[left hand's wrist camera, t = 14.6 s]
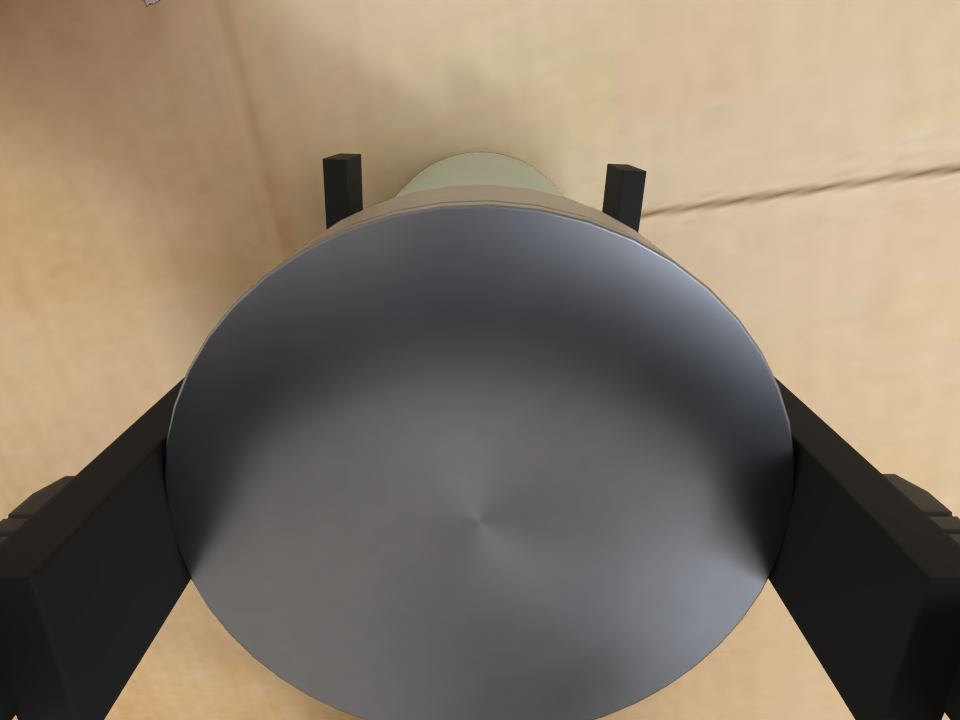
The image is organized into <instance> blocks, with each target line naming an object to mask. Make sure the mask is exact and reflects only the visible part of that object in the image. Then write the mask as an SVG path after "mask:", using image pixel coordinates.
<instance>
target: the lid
mask: <svg viewBox="0 0 960 720" xmlns="http://www.w3.org/2000/svg"><path fill="white" fill-rule="evenodd" d="M794 464H795V459H794V451H793V444H792V436H791V429H790V422H789V419H788V416H787V412H786V409H785V406H784V402H783V399H782V396H781V392H780V389H779V386H778V384H777V382H776V380H775V378H774V376H773V374H772V372H771V370H770V368H769V366H768V364H767V362H766V359H765V357H764V355H763V353H762V351H761V350H760V349H759V347H758V346H757V344H756V343H755V341H754V340H753V339H752V337H751V336H750V334H749V333H748V331H747V330H746V329H745V327H744V326H743V324H742V323H741V321H740V320H739V319H738V317H737V316H736V315H735V314H734V313H733V312H732V311H731V310H730V309H729V308H728V307H727V306H726V305H725V304H724V303H723V302H722V301H721V300H720V299H719V298H718V297H717V296H716V295H715V294H714V292H713V291H712V290H711V289H710V288H709V287H707V286H706V285H705V284H704V283H702V282H701V281H700V280H698V279H697V278H696V277H694V276H693V275H692V274H691V273H689V272H688V271H687V270H685V269H684V268H683V267H682V266H680V265H679V264H678V263H676V262H675V261H674V260H673V259H671V258H670V257H669V256H667V255H666V254H665V253H664V252H662V251H661V250H660V249H658V248H657V247H656V246H654V245H653V244H652V243H651V242H649V241H648V240H647V239H645V238H644V237H643V236H641V235H640V234H639V233H638V232H636V231H635V230H633V229H632V228H630V227H628V226H626V225H625V224H623V223H621V222H619V221H617V220H616V219H614V218H612V217H610V216H609V215H607V214H605V213H603V212H601V211H599V210H596V209H594V208H591V207H589V206H586V205H584V204H581V203H578V202H576V201H573V200H571V199H568V198H565V197H561V196H557V195H553V194H549V193H545V192H540V191H536V190H532V189H527V188H517V187H507V186H498V185H465V186H447V187H441V188H436V189H430V190H424V191H418V192H412V193H409V194H406V195H402V196H399V197H396V198H393V199H390V200H387V201H384V202H380V203H377V204H374V205H372V206H370V207H368V208H366V209H364V210H362V211H360V212H357V213H355V214H353V215H351V216H349V217H347V218H345V219H343V220H341V221H339V222H338V223H336V224H335V225H333V226H332V227H330V228H329V229H327V230H326V231H324V232H323V233H321V234H320V235H318V236H317V237H315V238H314V239H312V240H311V241H309V242H308V243H307V244H305V245H304V246H303V247H301V248H300V249H299V250H297V251H296V252H295V253H294V254H292V255H291V256H290V257H288V258H287V259H286V260H284V261H283V262H282V263H281V264H279V265H278V266H277V267H275V268H274V269H273V270H271V271H270V272H269V273H267V274H266V275H265V276H264V277H263V278H262V279H261V280H260V281H259V282H257V283H256V284H255V285H254V286H253V287H252V288H251V289H250V290H249V291H247V292H246V293H245V294H244V295H243V296H242V297H241V298H240V299H239V300H237V301H236V302H235V303H234V304H233V306H232V307H231V308H230V309H229V310H228V312H227V313H226V314H225V315H224V317H223V318H222V319H221V320H220V321H219V323H218V324H217V325H216V326H215V328H214V329H213V330H212V331H211V332H210V334H209V335H208V336H207V338H206V340H205V342H204V343H203V345H202V347H201V348H200V350H199V352H198V354H197V355H196V357H195V359H194V360H193V362H192V364H191V365H190V367H189V369H188V371H187V374H186V376H185V379H184V381H183V384H182V386H181V389H180V392H179V394H178V397H177V399H176V402H175V405H174V408H173V413H172V418H171V423H170V427H169V432H168V437H167V441H166V461H165V487H166V496H167V503H168V508H169V514H170V518H171V522H172V526H173V531H174V535H175V539H176V544H177V547H178V550H179V552H180V554H181V557H182V559H183V561H184V564H185V566H186V568H187V571H188V573H189V575H190V578H191V579H192V581H193V583H194V584H195V586H196V588H197V589H198V591H199V593H200V594H201V596H202V598H203V599H204V601H205V603H206V604H207V606H208V607H209V609H210V610H211V611H212V612H213V614H214V615H215V616H216V617H217V619H218V620H219V621H220V622H221V624H222V625H223V626H224V628H225V629H226V630H227V631H228V633H229V634H230V635H231V636H232V637H233V638H234V639H235V640H236V641H237V642H238V643H239V644H240V645H241V646H243V647H244V648H245V649H246V650H247V651H248V652H249V653H250V654H251V655H252V656H253V657H254V658H255V659H256V660H258V661H259V662H260V663H262V664H263V665H264V666H265V667H267V668H268V669H269V670H271V671H272V672H273V673H274V674H276V675H277V676H278V677H279V678H281V679H283V680H284V681H286V682H288V683H289V684H291V685H292V686H294V687H296V688H297V689H299V690H300V691H302V692H304V693H305V694H307V695H309V696H311V697H313V698H315V699H317V700H319V701H321V702H323V703H325V704H327V705H329V706H331V707H333V708H336V709H338V710H340V711H343V712H345V713H348V714H351V715H354V716H356V717H359V718H362V719H365V720H595V719H598V718H601V717H604V716H607V715H609V714H612V713H614V712H616V711H619V710H621V709H623V708H626V707H628V706H630V705H633V704H635V703H637V702H639V701H641V700H643V699H645V698H646V697H648V696H650V695H652V694H654V693H655V692H657V691H659V690H661V689H663V688H665V687H666V686H668V685H669V684H671V683H672V682H674V681H675V680H676V679H678V678H679V677H681V676H682V675H684V674H685V673H686V672H688V671H689V670H691V669H692V668H694V667H695V666H696V665H697V664H698V663H699V662H700V661H702V660H703V659H704V658H705V657H706V656H707V655H708V654H710V653H711V652H712V651H713V650H714V649H715V648H716V647H718V646H719V645H720V644H721V642H722V641H723V640H724V639H725V638H726V637H727V636H728V635H729V634H730V632H731V631H732V630H733V629H734V628H735V627H736V626H737V625H738V623H739V622H740V621H741V620H742V619H743V617H744V616H745V614H746V613H747V612H748V610H749V609H750V607H751V606H752V604H753V603H754V601H755V600H756V599H757V597H758V596H759V594H760V593H761V591H762V589H763V587H764V585H765V583H766V581H767V579H768V577H769V575H770V573H771V571H772V569H773V567H774V565H775V564H776V561H777V559H778V556H779V553H780V550H781V547H782V544H783V541H784V538H785V534H786V530H787V525H788V520H789V516H790V511H791V506H792V502H793V496H794Z"/></svg>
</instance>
